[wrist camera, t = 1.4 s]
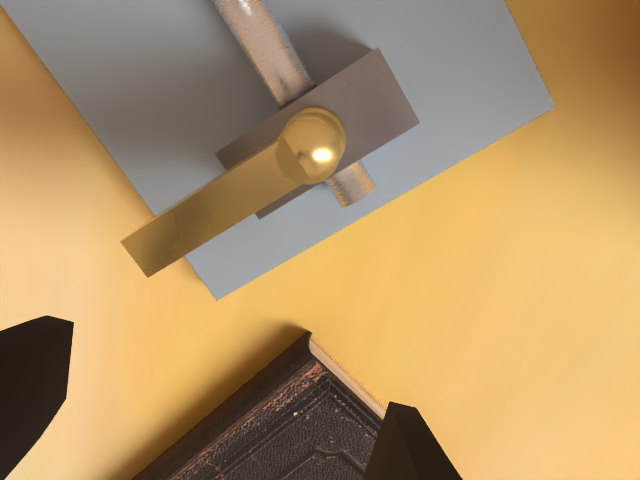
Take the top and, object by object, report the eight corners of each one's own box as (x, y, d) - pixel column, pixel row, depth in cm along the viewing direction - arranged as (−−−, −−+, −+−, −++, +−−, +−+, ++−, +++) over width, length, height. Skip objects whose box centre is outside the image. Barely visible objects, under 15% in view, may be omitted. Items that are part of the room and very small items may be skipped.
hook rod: (395, 167, 18) (406, 194, 14) (322, 211, 18) (314, 247, 15) (161, -236, 15) (94, -342, 11) (82, -166, 15) (-8, -245, 11)
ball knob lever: (357, 149, 15) (358, 164, 13) (183, 255, 16) (154, 286, 14) (324, 94, 14) (319, 100, 12) (149, 207, 16) (112, 232, 13)
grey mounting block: (410, 114, 17) (420, 122, 15) (273, 197, 19) (259, 219, 16) (374, 50, 17) (378, 47, 14) (235, 140, 18) (214, 153, 15)
